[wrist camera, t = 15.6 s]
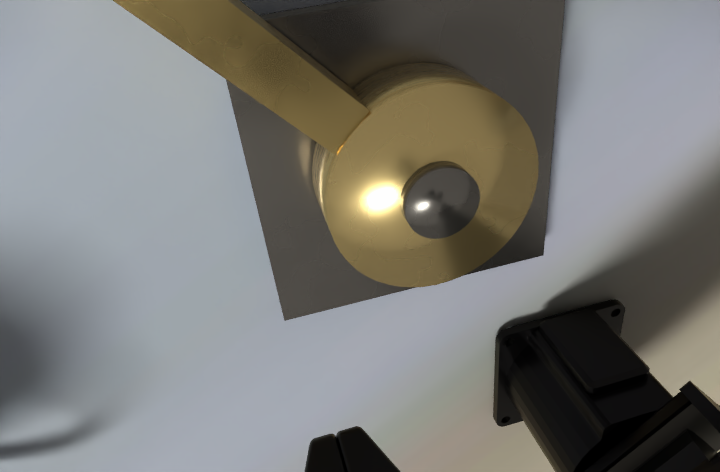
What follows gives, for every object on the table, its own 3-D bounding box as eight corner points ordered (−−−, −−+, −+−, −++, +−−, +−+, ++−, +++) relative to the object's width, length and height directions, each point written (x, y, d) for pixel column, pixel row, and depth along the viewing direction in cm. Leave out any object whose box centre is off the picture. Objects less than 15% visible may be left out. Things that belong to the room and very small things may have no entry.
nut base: (533, 245, 24) (543, 254, 24) (281, 308, 23) (284, 320, 22) (554, -35, 18) (567, -32, 18) (212, 23, 17) (213, 28, 16)
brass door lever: (539, 140, 21) (589, 176, 18) (413, 277, 23) (442, 327, 20) (125, -248, 13) (110, -281, 10) (-18, 14, 14) (-63, 42, 12)
